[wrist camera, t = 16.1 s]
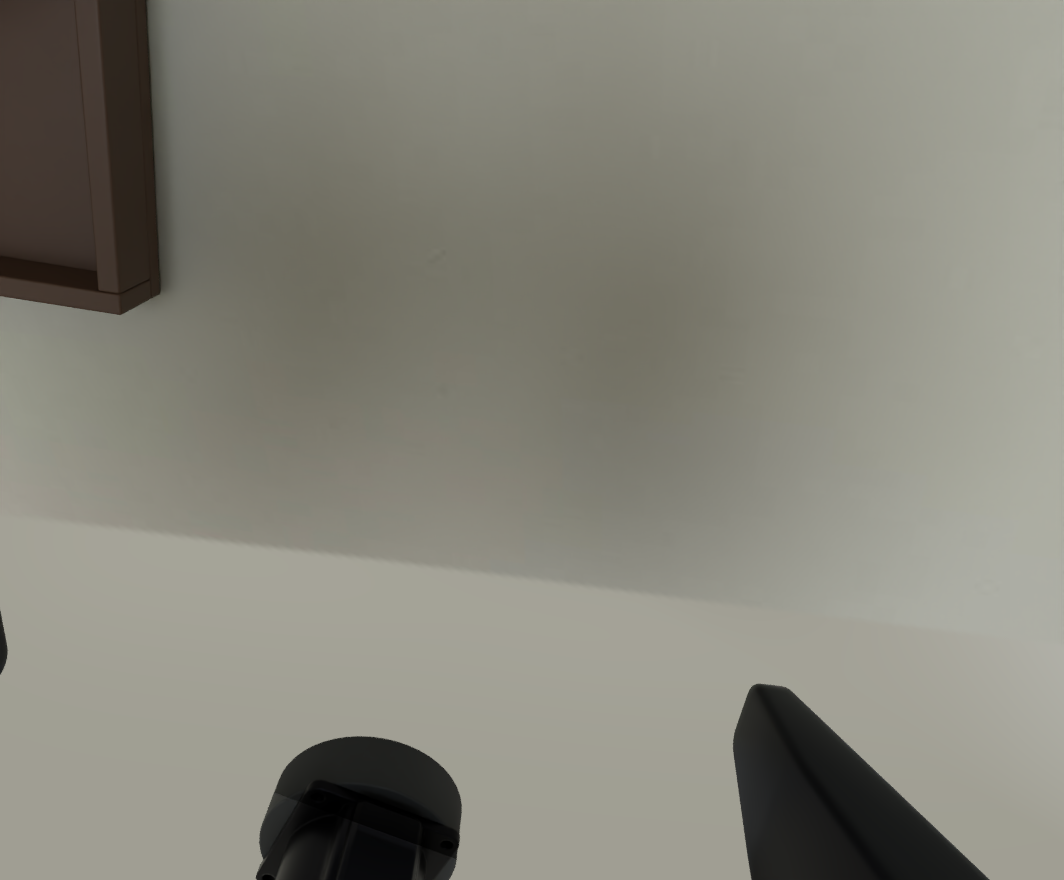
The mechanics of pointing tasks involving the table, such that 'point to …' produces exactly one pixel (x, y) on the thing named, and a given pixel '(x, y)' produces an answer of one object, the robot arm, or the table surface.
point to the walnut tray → (76, 155)
